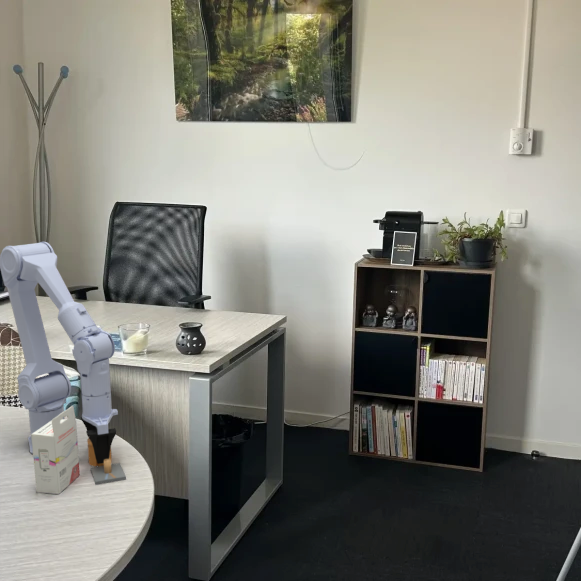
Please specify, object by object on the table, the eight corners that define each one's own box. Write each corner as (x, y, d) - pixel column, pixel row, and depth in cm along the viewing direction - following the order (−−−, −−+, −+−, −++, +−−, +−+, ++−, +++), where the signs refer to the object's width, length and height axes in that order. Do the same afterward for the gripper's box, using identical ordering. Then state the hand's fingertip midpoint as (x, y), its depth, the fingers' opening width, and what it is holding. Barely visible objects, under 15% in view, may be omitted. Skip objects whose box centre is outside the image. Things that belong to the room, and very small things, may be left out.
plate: (90, 470, 147) (89, 455, 146) (119, 465, 149) (119, 451, 149) (95, 484, 141) (94, 469, 140) (126, 479, 143) (125, 464, 142)
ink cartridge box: (57, 473, 146) (52, 402, 143) (80, 475, 145) (76, 404, 142) (34, 492, 137) (28, 418, 135) (58, 495, 136) (53, 420, 134)
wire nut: (87, 459, 152) (85, 436, 151) (109, 455, 154) (108, 433, 153) (90, 467, 148) (88, 444, 147) (113, 464, 150) (112, 441, 149)
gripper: (122, 400, 143) (125, 465, 146) (110, 379, 156) (113, 439, 159) (85, 405, 141) (89, 471, 143) (76, 383, 154) (80, 445, 156)
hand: (99, 455), depth 151 cm, fingers open, 7 cm apart
